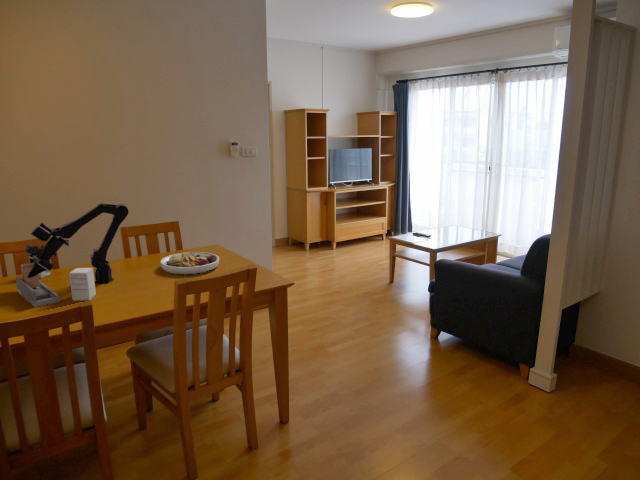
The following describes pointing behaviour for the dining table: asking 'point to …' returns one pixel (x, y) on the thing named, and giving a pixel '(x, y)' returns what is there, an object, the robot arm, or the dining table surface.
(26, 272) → the terracotta block
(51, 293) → the channel deck
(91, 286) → the supplement box
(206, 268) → the bowl
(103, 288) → the dining table surface
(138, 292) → the dining table surface
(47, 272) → the skincare box
